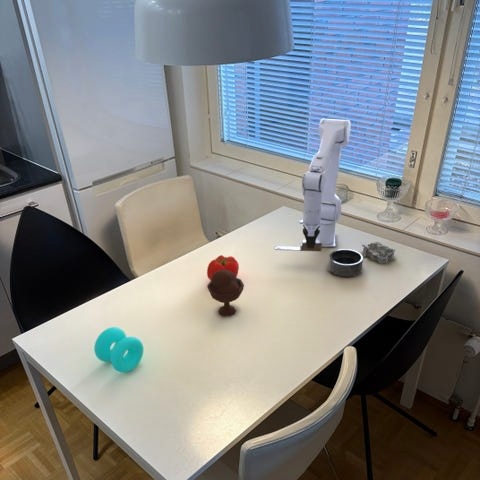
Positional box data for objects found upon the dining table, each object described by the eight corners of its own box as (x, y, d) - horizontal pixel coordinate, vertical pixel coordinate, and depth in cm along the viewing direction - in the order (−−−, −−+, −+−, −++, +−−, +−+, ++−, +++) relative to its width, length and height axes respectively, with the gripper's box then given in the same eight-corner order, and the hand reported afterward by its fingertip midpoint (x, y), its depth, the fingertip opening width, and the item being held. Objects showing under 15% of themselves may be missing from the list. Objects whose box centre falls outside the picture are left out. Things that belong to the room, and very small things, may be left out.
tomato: (240, 273, 172) (239, 251, 166) (237, 290, 163) (236, 268, 158) (210, 273, 173) (208, 251, 168) (205, 290, 164) (203, 267, 159)
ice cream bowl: (244, 320, 149) (243, 278, 140) (208, 321, 150) (204, 279, 141) (245, 301, 158) (243, 260, 149) (210, 301, 158) (206, 261, 149)
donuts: (124, 347, 141) (118, 319, 135) (148, 361, 136) (142, 332, 130) (96, 365, 135) (88, 337, 129) (119, 381, 130) (112, 352, 124)
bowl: (328, 260, 176) (329, 248, 173) (360, 262, 175) (361, 249, 172) (328, 277, 167) (329, 264, 164) (362, 278, 166) (363, 265, 163)
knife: (321, 248, 170) (321, 239, 168) (321, 251, 168) (321, 243, 166) (274, 246, 172) (274, 238, 170) (274, 250, 170) (274, 241, 168)
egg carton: (359, 254, 179) (360, 244, 177) (373, 248, 183) (374, 238, 180) (382, 265, 172) (383, 255, 170) (396, 258, 176) (398, 248, 173)
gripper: (301, 199, 167) (299, 235, 175) (299, 217, 155) (297, 255, 163) (322, 199, 166) (319, 236, 174) (321, 218, 154) (319, 256, 162)
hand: (310, 245), depth 168 cm, fingers closed on knife, 2 cm apart
